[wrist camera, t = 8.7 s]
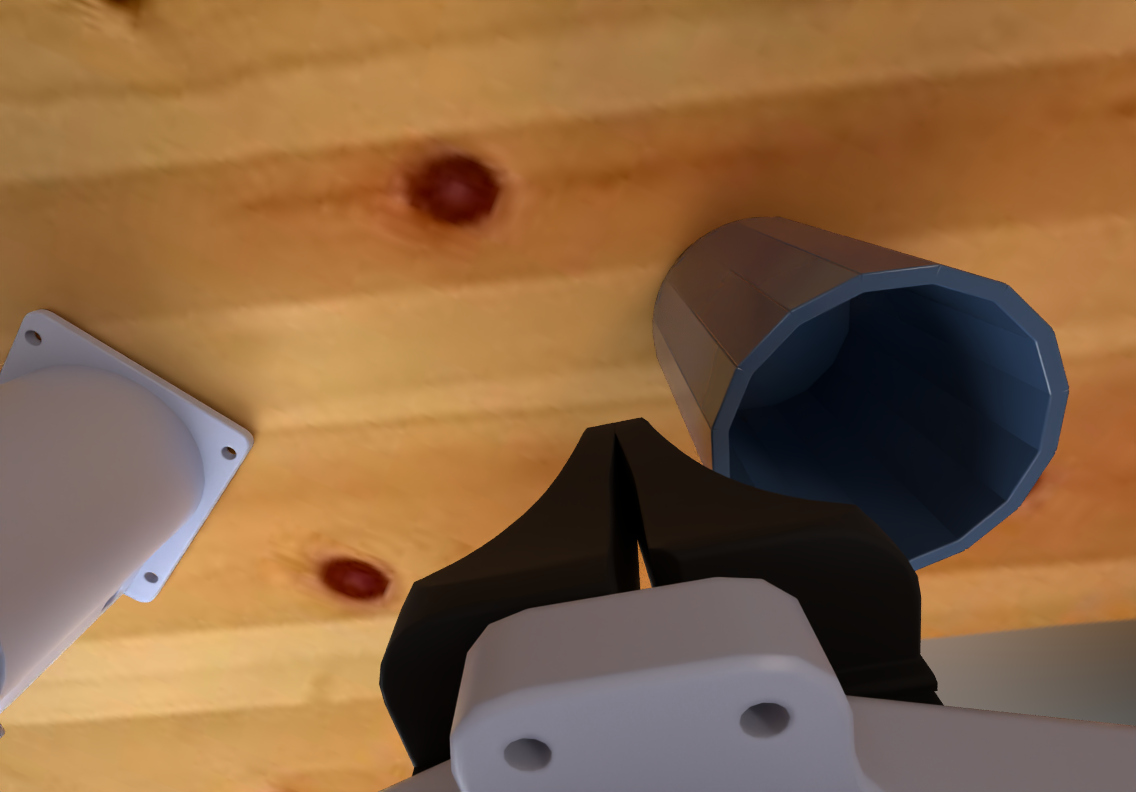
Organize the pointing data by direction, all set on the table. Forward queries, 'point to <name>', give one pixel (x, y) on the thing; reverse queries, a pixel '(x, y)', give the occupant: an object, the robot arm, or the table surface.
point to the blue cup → (861, 379)
